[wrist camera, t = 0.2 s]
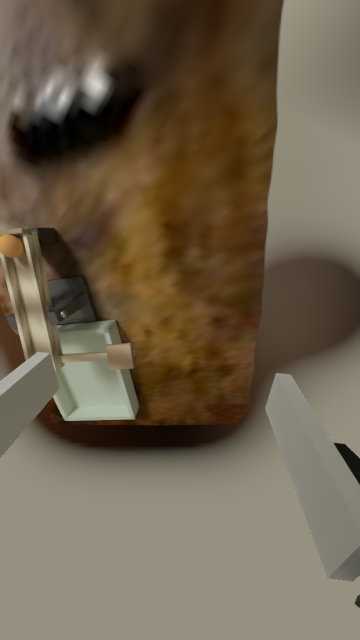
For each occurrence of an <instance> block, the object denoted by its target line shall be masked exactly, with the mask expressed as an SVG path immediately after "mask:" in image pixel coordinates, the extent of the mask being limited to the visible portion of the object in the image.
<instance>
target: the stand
mask: <svg viewBox="0 0 360 640" xmlns="http://www.w3.org/2000/svg"><path fill="white" fill-rule="evenodd" d="M26 230H29V231H33V232H36V233H37V235H38V240H39V245H45V244H52V243H59V241H58V238H57V235H56V232H55V230H54V228H32V229H26ZM47 283H48V287H49V292H50V297H51V302H52V306H53V309H52V310H50V311H48V312H46V314H47V316H48V318H49V321H50V323H51V324H63V323H74V322H86V321H96V320H97V316H96V313H95V310H94V307H93V304H92V301H91V298H90V294H89V291H88V288H87V285H86V282H85V279H84V276H79V277H70V278H62V279H54V280H47ZM6 319H7V321H8V322H9V324H10V326H11V328H14V327H17V323H16V318H15V314H14V313H12V314H10V315H8V316H6Z"/></svg>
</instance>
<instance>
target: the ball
mask: <svg viewBox="0 0 360 640" xmlns="http://www.w3.org/2000/svg"><path fill="white" fill-rule="evenodd" d="M24 250H25V248H24V244H23V243H22V241H21V240H20V239H18V238H17V237H15V236H12V235H3V236H1V237H0V253H1V254H3V255H4V256H6V257H10V258H17V257H20V256H21V255H22V254H23V253H24Z"/></svg>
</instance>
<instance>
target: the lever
mask: <svg viewBox="0 0 360 640" xmlns="http://www.w3.org/2000/svg"><path fill="white" fill-rule="evenodd" d="M3 235H12V236H15V237H17V238H18V239H20V240H21V241H22V243H23V244H24V248H25V250H24V253H23V254H22V255H21V256H20V257H17V258H10V257H6V256H4V255H3V254H1V253H0V257H1V261H2V265H3V269H4V273H5V277H6V281H7V286H8V290H9V294H10V298H11V302H12V306H13V310H14V314H15V318H16V323H17V327H18V331H19V335H20V339H21V343H22V347H23V351H24V355H25V359H26V361H27V360H28V359H29V358H31V357H32V356H33V355H34V354H36V353H37V352H45V353H50V354H51V358H52V361H53V365H54V369H55V371H57V370H58V369H60V368H62V367H63V366H65V363H67V362H83V361H99V360H108V364H109V369H110V370H117V369H134V367H135V362H134V358H135V357H136V353H135V349H132V343H122V344H108V345H106V351H101V352H87V353H72V354H62V349H61V344H60V340H59V335H58V330H57V325H56V324H51V323H50V321H49V318H48V316H47V314H46V312H48V311H50V310H52V309H53V306H52V302H51V297H50V292H49V287H48V283H47V278H46V273H45V268H44V264H43V259H42V254H41V249H40V245H39V240H38V235H37V233H36V232H33V231H29V230H26V229H23V228H19V229H12V230H6V231H0V237H1V236H3Z"/></svg>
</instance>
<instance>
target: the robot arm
mask: <svg viewBox="0 0 360 640" xmlns="http://www.w3.org/2000/svg"><path fill="white" fill-rule="evenodd" d="M59 389H60V388H59V384H58V380H57V376H56V373H55V369H54V365H53V361H52V358H51V354H50V353H45V352H37V353H36V354H34V355H33V356H32V357H31V358H29V359H28V360H27V361H26V362H24V363H23V364H22V365H20V366H19V367H18V368H17V369H15V370H14V371H13V372H12V373H10V374H9V375H8V376H6V377H5V378H4V379H3V380H1V381H0V458H1V457H2V455H3V454H4V453H5V452H6V451H7V450H8V448H9V447H10V446H11V445H12V444H13V443H14V441H15V440H16V439H17V438H18V437H19V436H20V434H21V433H22V432H23V431H24V430H25V428H26V427H27V426H28V425H29V424H30V423H31V421H32V420H33V419H34V418H35V417H36V416H37V414H38V413H39V412H40V411H41V410H42V409H43V407H44V406H45V405H46V404H47V403H48V402H49V400H50V399H51V398H52V397H53V396H54V394H55V393H56V392H57V391H58V390H59ZM265 410H266V413H267V415H268V418H269V421H270V423H271V426H272V428H273V431H274V434H275V437H276V439H277V442H278V445H279V447H280V450H281V453H282V456H283V458H284V461H285V463H286V466H287V469H288V472H289V475H290V477H291V480H292V483H293V485H294V488H295V491H296V493H297V496H298V499H299V502H300V504H301V507H302V510H303V512H304V515H305V518H306V520H307V523H308V526H309V528H310V531H311V534H312V536H313V539H314V542H315V545H316V547H317V550H318V553H319V555H320V558H321V561H322V563H323V566H324V569H325V572H326V574H327V577H328V578H332V579H339V580H346V581H354V580H355V579H356V578H357V577H358V576H359V575H360V458H359V457H358V456H357V455H356V454H355V453H353V451H351V450H350V449H349V448H348V447H347V446H346V445H345V444H340V443H333V442H332V440H331V439H330V437H329V435H328V434H327V432H326V431H325V429H324V427H323V426H322V424H321V423H320V421H319V419H318V418H317V416H316V415H315V413H314V411H313V410H312V408H311V407H310V405H309V404H308V402H307V400H306V399H305V397H304V396H303V394H302V392H301V391H300V389H299V388H298V386H297V384H296V383H295V381H294V380H293V378H292V376H291V375H289V374H279V373H276V376H275V379H274V382H273V385H272V388H271V392H270V395H269V398H268V402H267V404H266V407H265ZM355 604H356V605H357V606H358V607H360V595H359V596H358V597H357V599H356V601H355Z"/></svg>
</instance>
